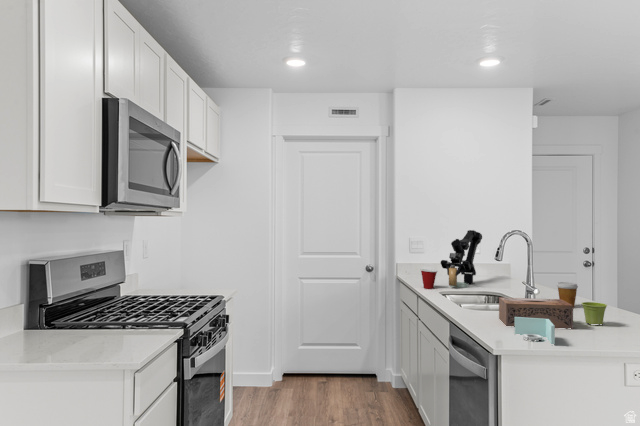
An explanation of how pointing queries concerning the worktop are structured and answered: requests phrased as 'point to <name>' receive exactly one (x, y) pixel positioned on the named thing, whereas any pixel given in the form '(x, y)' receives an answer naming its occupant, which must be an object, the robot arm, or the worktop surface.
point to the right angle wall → (535, 328)
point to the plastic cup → (428, 278)
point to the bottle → (452, 276)
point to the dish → (460, 285)
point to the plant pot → (594, 312)
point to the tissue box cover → (536, 310)
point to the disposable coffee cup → (567, 292)
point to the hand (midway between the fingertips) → (452, 275)
